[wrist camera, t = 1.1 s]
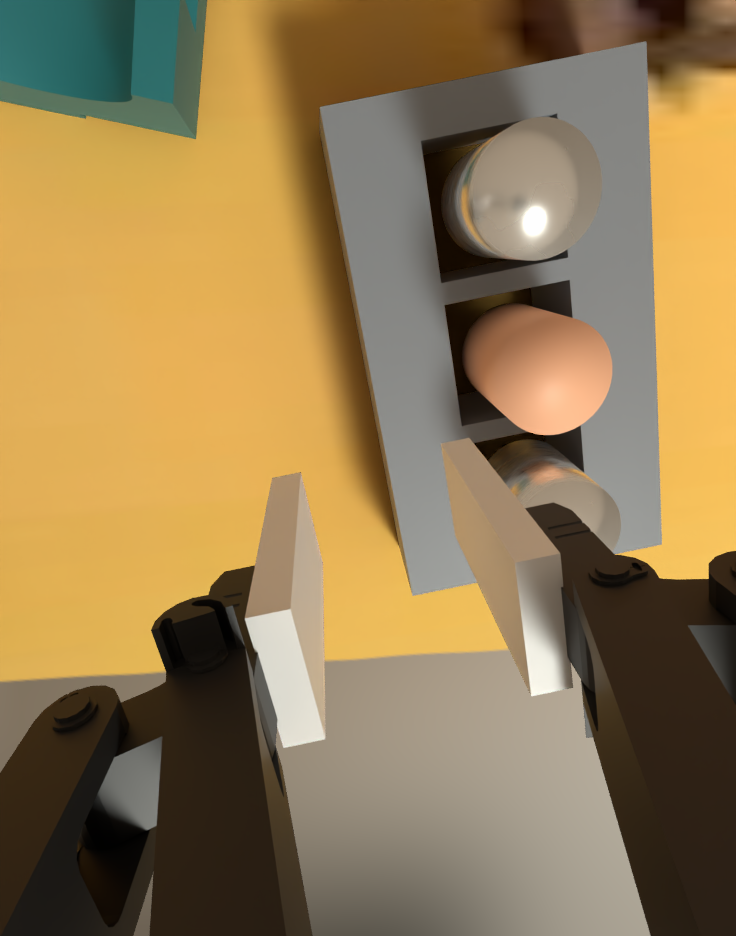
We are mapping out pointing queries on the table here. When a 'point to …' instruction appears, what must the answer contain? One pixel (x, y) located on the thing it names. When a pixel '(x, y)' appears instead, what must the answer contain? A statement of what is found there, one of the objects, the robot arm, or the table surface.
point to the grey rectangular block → (497, 287)
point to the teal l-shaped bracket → (106, 59)
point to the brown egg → (538, 367)
